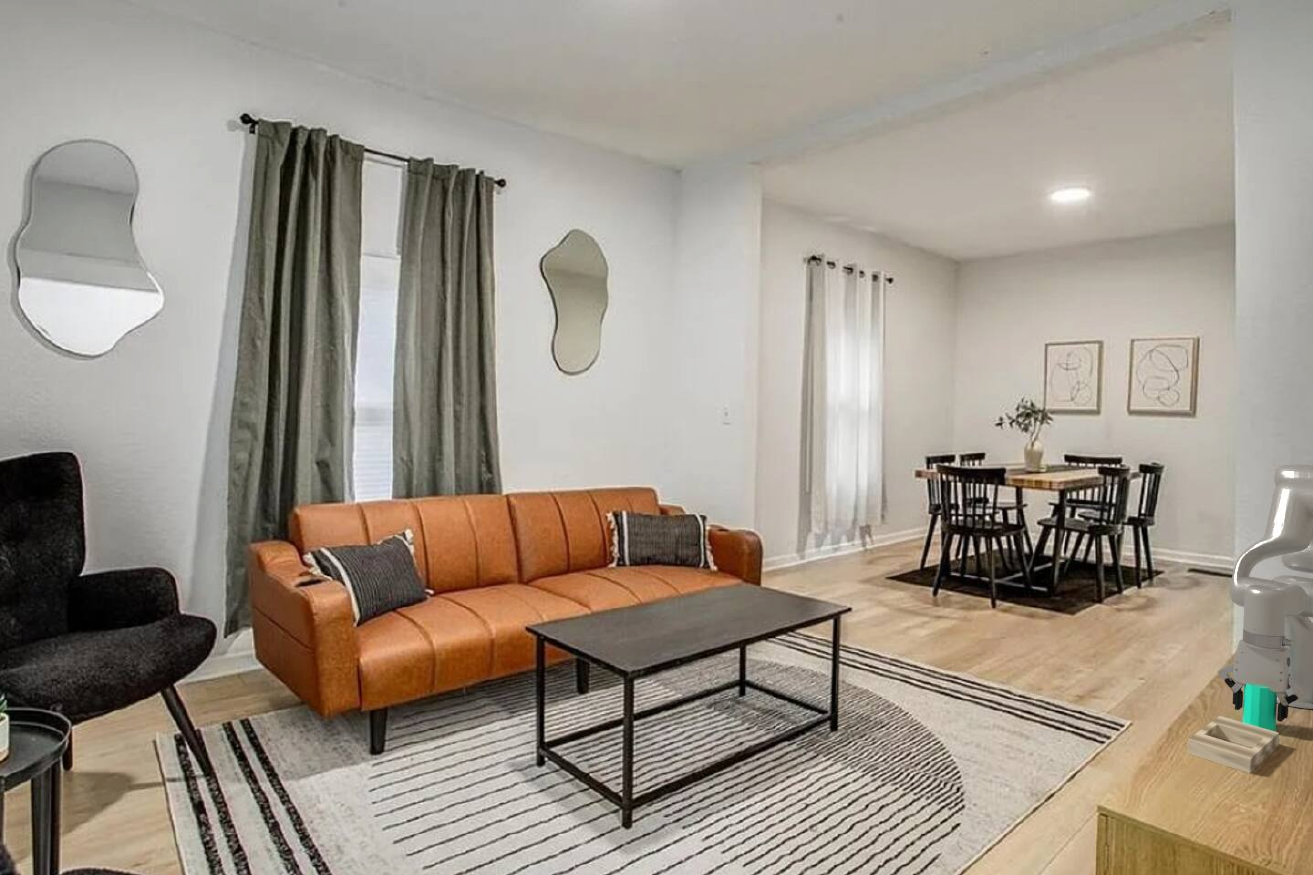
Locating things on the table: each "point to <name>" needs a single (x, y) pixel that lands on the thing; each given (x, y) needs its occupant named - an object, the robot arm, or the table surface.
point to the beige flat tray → (1231, 753)
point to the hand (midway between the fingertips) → (1259, 713)
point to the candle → (1260, 707)
